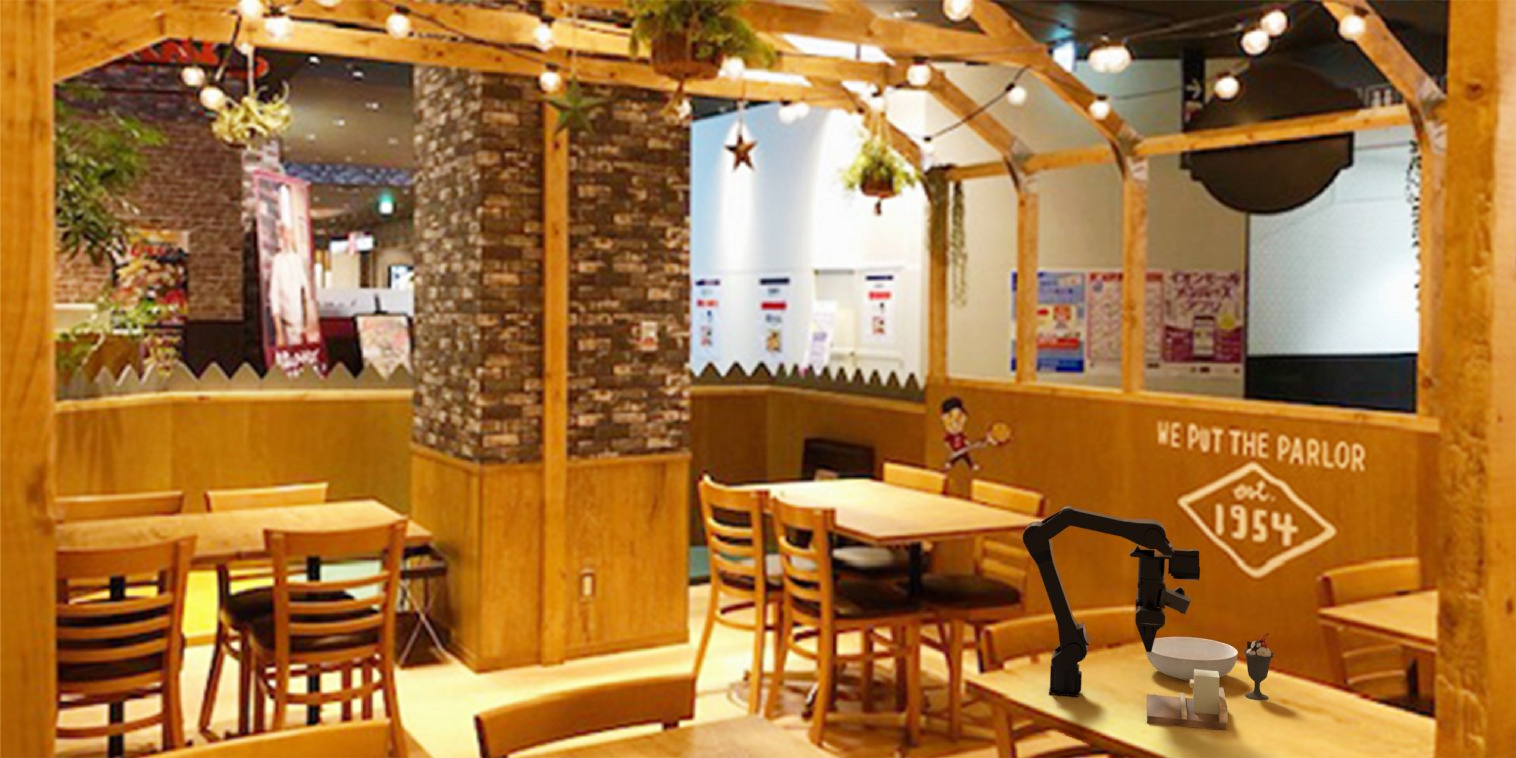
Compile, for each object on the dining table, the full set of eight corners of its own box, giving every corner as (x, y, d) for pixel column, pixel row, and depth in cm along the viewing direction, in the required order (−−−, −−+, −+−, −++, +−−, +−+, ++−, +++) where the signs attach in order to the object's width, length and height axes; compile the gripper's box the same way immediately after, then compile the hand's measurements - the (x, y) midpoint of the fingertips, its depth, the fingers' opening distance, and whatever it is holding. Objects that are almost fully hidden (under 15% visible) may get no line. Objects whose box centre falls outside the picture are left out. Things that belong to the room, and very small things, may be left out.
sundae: (1275, 702, 305) (1278, 636, 304) (1243, 700, 306) (1246, 634, 305) (1270, 693, 311) (1273, 628, 310) (1239, 691, 313) (1241, 626, 312)
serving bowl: (1161, 659, 340) (1162, 631, 339) (1247, 674, 327) (1249, 645, 327) (1131, 677, 323) (1132, 649, 322) (1220, 694, 311) (1221, 664, 310)
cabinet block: (1189, 711, 292) (1190, 675, 292) (1188, 705, 297) (1189, 668, 296) (1218, 714, 291) (1219, 677, 290) (1216, 707, 295) (1218, 671, 295)
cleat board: (1146, 722, 289) (1147, 701, 289) (1146, 700, 305) (1147, 680, 304) (1226, 730, 285) (1227, 709, 285) (1222, 707, 300) (1223, 687, 300)
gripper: (1190, 588, 293) (1187, 660, 294) (1187, 571, 311) (1185, 639, 312) (1136, 585, 296) (1134, 656, 297) (1136, 568, 314) (1134, 635, 315)
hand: (1148, 646), depth 305 cm, fingers open, 9 cm apart
